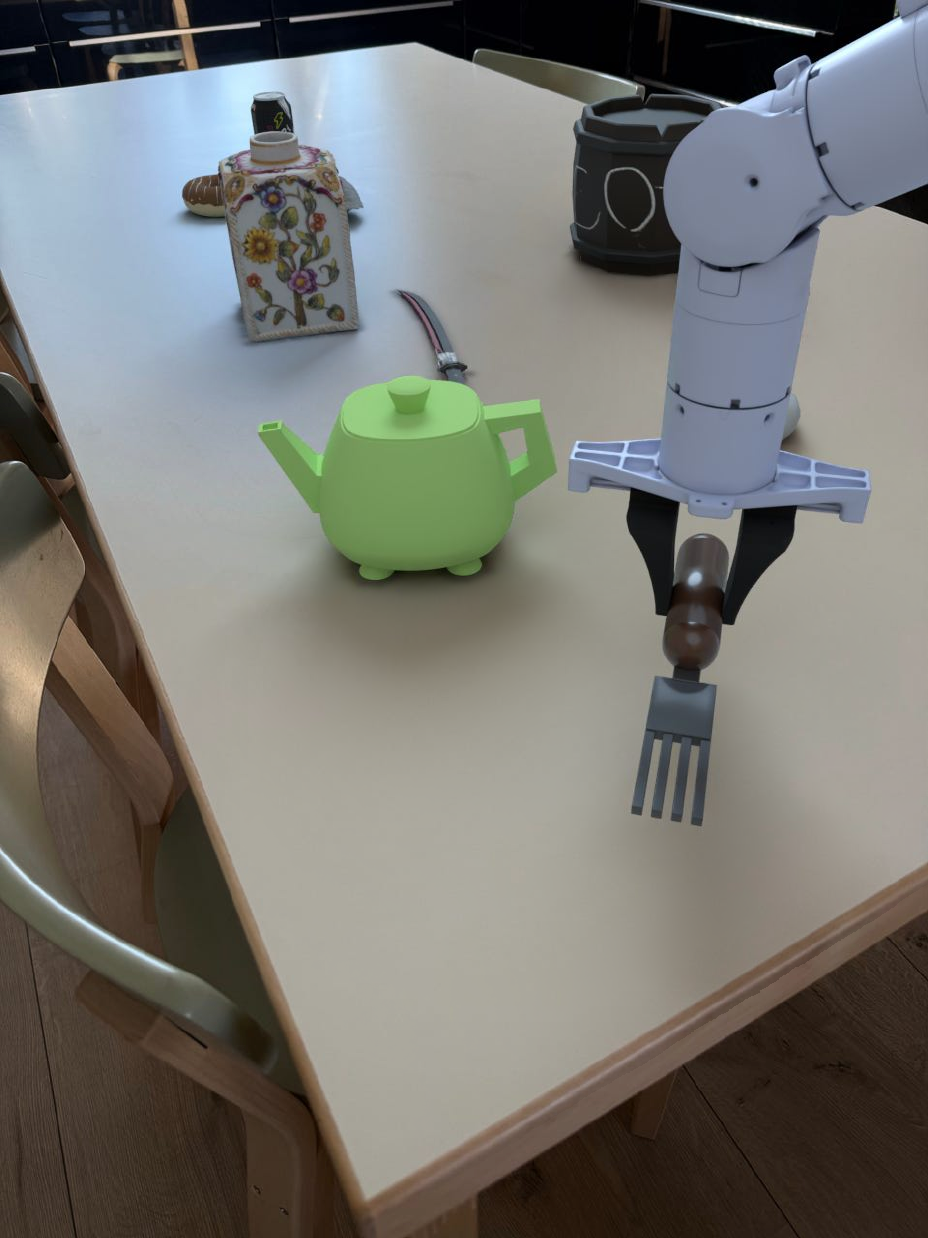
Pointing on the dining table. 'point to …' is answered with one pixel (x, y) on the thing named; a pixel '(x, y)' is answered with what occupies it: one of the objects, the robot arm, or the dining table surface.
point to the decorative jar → (289, 238)
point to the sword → (448, 357)
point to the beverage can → (271, 113)
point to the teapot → (416, 474)
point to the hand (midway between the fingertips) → (695, 609)
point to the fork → (686, 676)
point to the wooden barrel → (629, 180)
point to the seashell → (351, 195)
